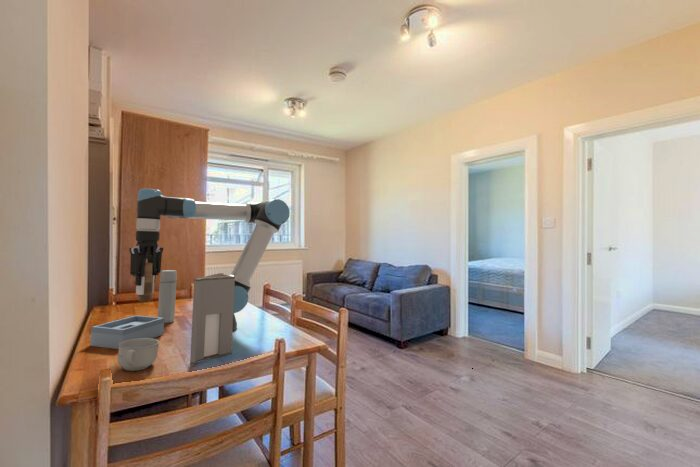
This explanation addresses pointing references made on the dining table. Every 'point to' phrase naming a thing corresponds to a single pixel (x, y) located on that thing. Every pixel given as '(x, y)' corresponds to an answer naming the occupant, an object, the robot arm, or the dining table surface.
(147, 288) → the peg
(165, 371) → the dining table surface
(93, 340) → the box
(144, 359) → the teacup
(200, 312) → the cabinet
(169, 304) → the water bottle
